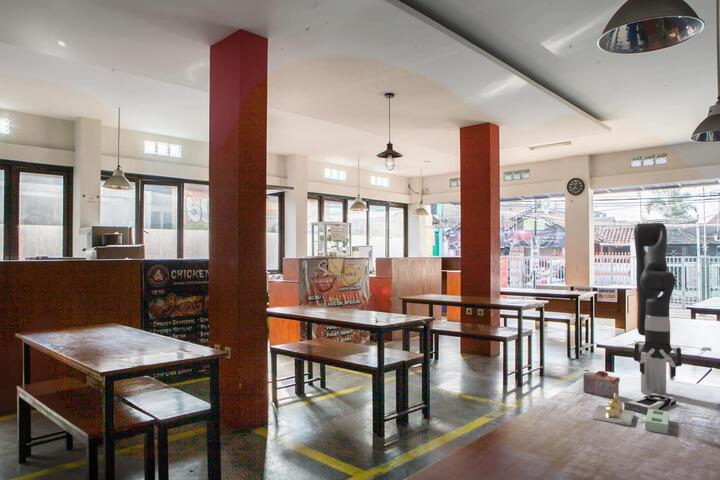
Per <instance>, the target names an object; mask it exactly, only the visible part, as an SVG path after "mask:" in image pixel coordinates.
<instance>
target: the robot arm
mask: <svg viewBox="0 0 720 480" xmlns="http://www.w3.org/2000/svg"><path fill="white" fill-rule="evenodd" d="M633 236H634V237H633V238H634V247H635V258H636V260H635V261H636V293H637V294H636V295H637V313H636V314H637V318H636V321H637V322H636V329H637V332H638V334H639V335H640V336H644V343H643V344H641V343H637V342H635V344H634V349H633V350H634V351H633V360H634V361H635V362H638V363H639V372H640V392H641V393H643V394H645V395H649V394H652V393H655V394H658V395H665V396H667V363H669V364H670V378H671V379H674V377H676V375H677V373H676V371H677V370H676V369H677V367H681V366H682V365H683V360H682V348H681V347H680V346H677V347H672V346H671V320H670V303H671V298H672V294H673V291H674V289H675V285H676V281H677V280H676V277H675V275H674V273H673V272H671V271H668V264H667V248H668V247H667V246H668V244H667V243H668V232H667V227H666V226H665V224H664V223H662V222H647V223H637V224H635V226H634V231H633ZM645 247H651V248H649V250H647V251H646V249H645ZM660 294H662V295H660ZM672 351H673V354H675V355H676V359H677V361H674V360H673V358H672V357H671V356H670V354H671V352H672ZM639 352H640V357H639Z"/></svg>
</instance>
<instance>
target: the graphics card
mask: <svg viewBox="0 0 720 480" xmlns="http://www.w3.org/2000/svg"><path fill="white" fill-rule="evenodd" d="M676 404H677V400H676V399H675V398H674V397H673V396H668V395H666V396H665V395H658V394H655V393H652V394H649V395H648V394H646V395H645V396H642V397H640V398H636V399H635V400H630V401H627V402H626V401H625V402H624V403H623V405H624V406H623V407H624V408H623V410H629V411H635V412H636V413H640V414H643V415H644V414H645V415H647V412H648V408H649V409H655V410H661V411H665V410H666V409H668V408H671V407H672V406H675V405H676Z"/></svg>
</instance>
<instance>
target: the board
mask: <svg viewBox="0 0 720 480" xmlns="http://www.w3.org/2000/svg"><path fill="white" fill-rule="evenodd" d="M669 424H670V411H667V410H662V411H661V410H655V409H649V408H648V412H647V414H646V416H645V419H644V431H645V430H646V431H650V432H655V433H660V434H666V435H668V432H669Z"/></svg>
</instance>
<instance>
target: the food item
mask: <svg viewBox="0 0 720 480" xmlns="http://www.w3.org/2000/svg"><path fill="white" fill-rule="evenodd" d="M582 377H583V393H587V394H590V395H591V394H593V395H595V396H597V397H605V398H610V399H612V398H613V399H614V394H615V393H616V394H617V397H619V393H620V391H619V388H620V386H619V384H620V380H621V379H620V377H617V376H612V375H609V373H608V372H606V371H604V370H599V371H597V372H594V371H587V372H584V373H583V376H582Z"/></svg>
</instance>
